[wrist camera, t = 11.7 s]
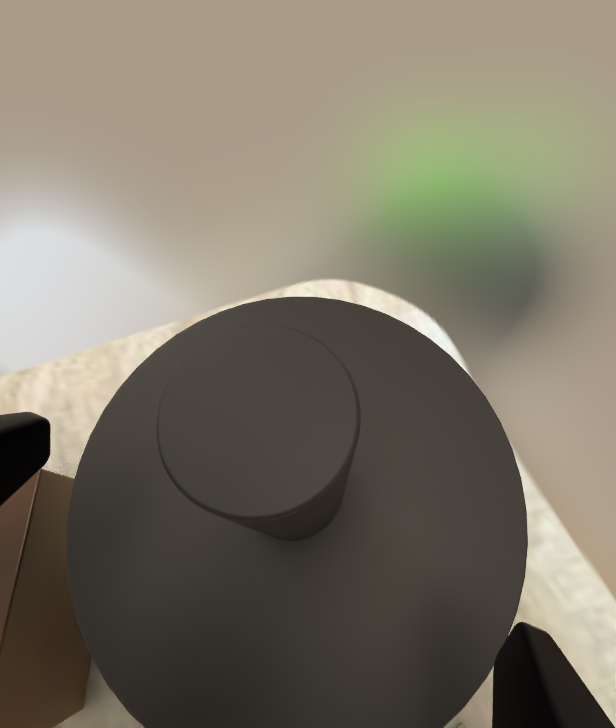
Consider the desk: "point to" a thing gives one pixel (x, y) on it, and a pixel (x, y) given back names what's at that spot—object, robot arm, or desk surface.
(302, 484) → the lid
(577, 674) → the robot arm
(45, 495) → the block
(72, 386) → the desk surface
